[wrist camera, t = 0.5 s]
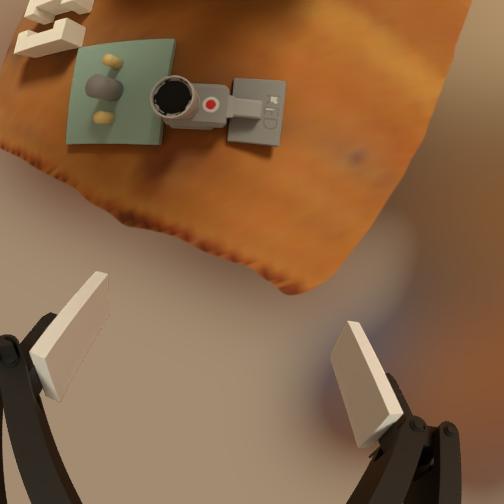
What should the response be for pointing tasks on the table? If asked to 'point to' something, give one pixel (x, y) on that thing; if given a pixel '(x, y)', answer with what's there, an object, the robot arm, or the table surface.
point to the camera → (223, 107)
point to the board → (118, 92)
